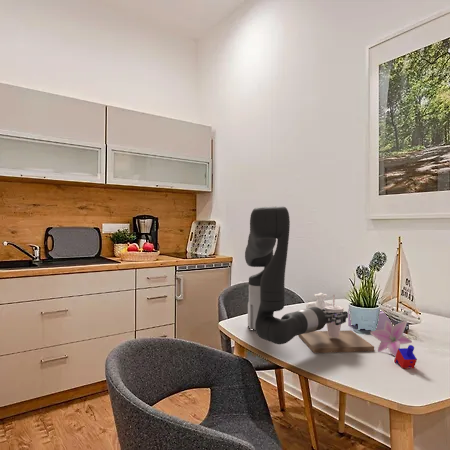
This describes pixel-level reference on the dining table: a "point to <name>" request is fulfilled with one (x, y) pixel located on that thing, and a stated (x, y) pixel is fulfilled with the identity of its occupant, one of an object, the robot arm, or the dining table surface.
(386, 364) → the dining table surface
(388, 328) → the lily
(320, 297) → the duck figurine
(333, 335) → the smoothie
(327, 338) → the walnut board
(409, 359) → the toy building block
